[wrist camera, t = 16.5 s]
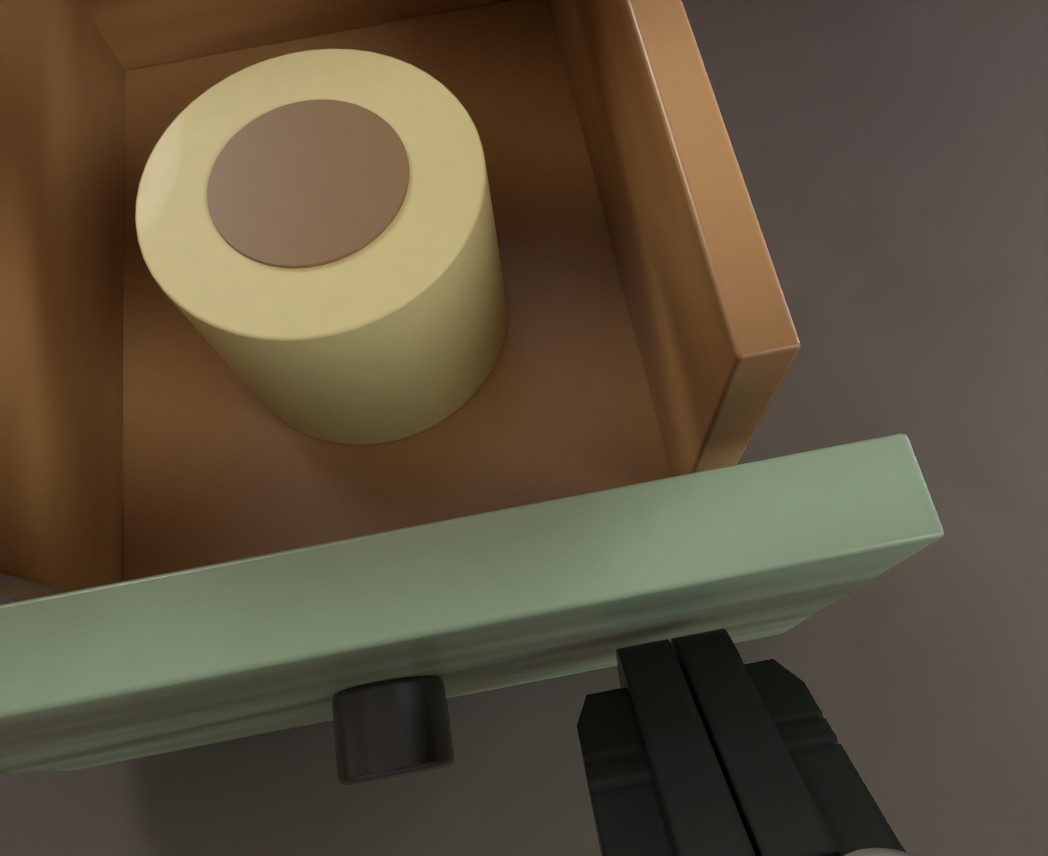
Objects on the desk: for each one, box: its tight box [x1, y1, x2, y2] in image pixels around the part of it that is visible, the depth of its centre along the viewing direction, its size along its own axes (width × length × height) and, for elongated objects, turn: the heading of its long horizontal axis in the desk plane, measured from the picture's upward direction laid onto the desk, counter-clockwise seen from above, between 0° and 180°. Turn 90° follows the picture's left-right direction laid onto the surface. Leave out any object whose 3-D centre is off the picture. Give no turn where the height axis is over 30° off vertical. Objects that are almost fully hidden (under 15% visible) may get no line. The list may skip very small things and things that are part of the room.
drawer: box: [0, 0, 944, 785], centre depth 15 cm, size 18×13×7 cm
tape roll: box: [135, 48, 508, 445], centre depth 15 cm, size 6×6×4 cm
